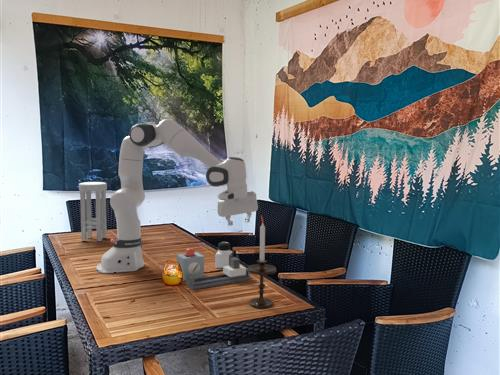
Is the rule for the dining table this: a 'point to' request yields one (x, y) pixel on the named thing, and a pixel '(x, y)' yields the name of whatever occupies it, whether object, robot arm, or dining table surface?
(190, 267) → the gauge cabinet
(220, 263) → the medicine bottle
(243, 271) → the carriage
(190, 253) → the button
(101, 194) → the stool
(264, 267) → the candlestick
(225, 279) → the rail
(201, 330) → the dining table surface
